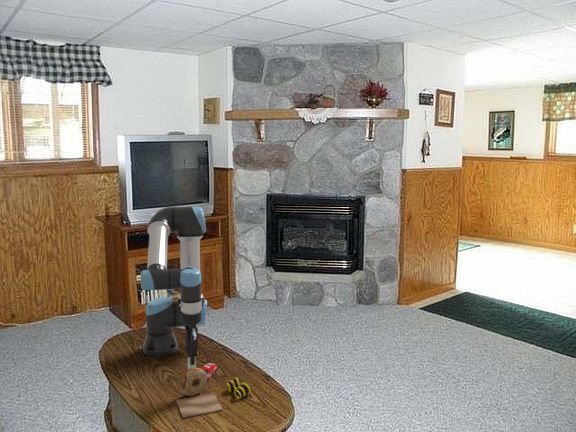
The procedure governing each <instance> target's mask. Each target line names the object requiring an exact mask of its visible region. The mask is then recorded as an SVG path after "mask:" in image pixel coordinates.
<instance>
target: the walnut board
mask: <svg viewBox="0 0 576 432" xmlns="http://www.w3.org/2000/svg"><path fill="white" fill-rule="evenodd" d="M175 402H176V405H177V407H178V409H179V412H180V416H181V417H182V419H189V418H193V417H199V416H203V415H207V414H212V413H217V412H221V411H223V410H224V409H223V407H222V405H221V403H220V401H219V399H218V398H217V396H216V395H215V392H211V393H206V394H201V395H200V394H199V395H193V396H189V397H185V398H180V399H176V400H175Z"/></svg>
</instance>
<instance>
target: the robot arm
mask: <svg viewBox="0 0 576 432" xmlns="http://www.w3.org/2000/svg"><path fill="white" fill-rule="evenodd" d="M206 232H207V227H206V218H205V213H204V209H203V207H200V206H167V207H164V208H160V209H159V210H158V211H157V212H155V213H154V214H153V216H152V217H151V218H150V220H149V222H148V224H147V234H148V235H149V238H148V239H149V240H148V252H147V268H146V270H142V271H141V272H140V288H141V289H142V290H143V291H163V290H179V291H180V293H179V295H178V296H177V300H176V301H175V300H174V299H173V298H172V297H168V296H162V297H158V298H154V299H152V300H150V301H149V302H148V303H147V304H146V306H145V308H146V310H145V316H146V317H145V319H146V336H145V339H144V342H143V344H142V345H143V346H142V351H143V354H144V355H146V356H148V357H155V358H156V357H159V358H161V357H166V356H170V355H172V354H174V353H175V352H177V351H178V341H177V339H176V336H175V333H174V328H184V331H185V335H184V336H185V349H186V353H187V354H186V358H187V371H188V370H190V369H192V368H197V358H196V357H198V345H199V337H200V336H199V334H198V330H199V326H204V325H205V321H206V317H207V311H208V300H207V299H205V297H204V294H203V293H202V279H203V278H202V272H201V248H200V247H201V244H200V242H201V239H202V238H203V237H204V233H206ZM170 234H176V238H177V239H178V240H179V242H180V247H179V248H180V269H179V268H176V269H175V268H174V269H168V246H169V245H168V244H169V242H168V241H169V236H170Z"/></svg>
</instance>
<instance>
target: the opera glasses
mask: <svg viewBox="0 0 576 432" xmlns="http://www.w3.org/2000/svg"><path fill="white" fill-rule="evenodd" d="M225 385H226V389H227V391H228V393H232V392H233V394H234V396H235V398H237V399H238V400H240V399H242V398H243V397H245V396H249V395H250V394H251V387H250V386H249V385H248V384H247V383H245V382H241V383H240V382H239V379H238V377H237V376H236V377H234V379H233V380H232V379H231V380H230V381H228V382H226V384H225Z"/></svg>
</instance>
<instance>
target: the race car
mask: <svg viewBox="0 0 576 432" xmlns="http://www.w3.org/2000/svg"><path fill="white" fill-rule="evenodd" d="M201 369H202V370H203V371H204V372H205V373H206V376H207V383H209V381H210V380H211V379H212V377H213V376H215V374H216V373H217V370H218V367H217V365H216V364H215V363H206V364H204V365H203V366H202V367H201ZM195 380H196V379H194V381H195Z"/></svg>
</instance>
